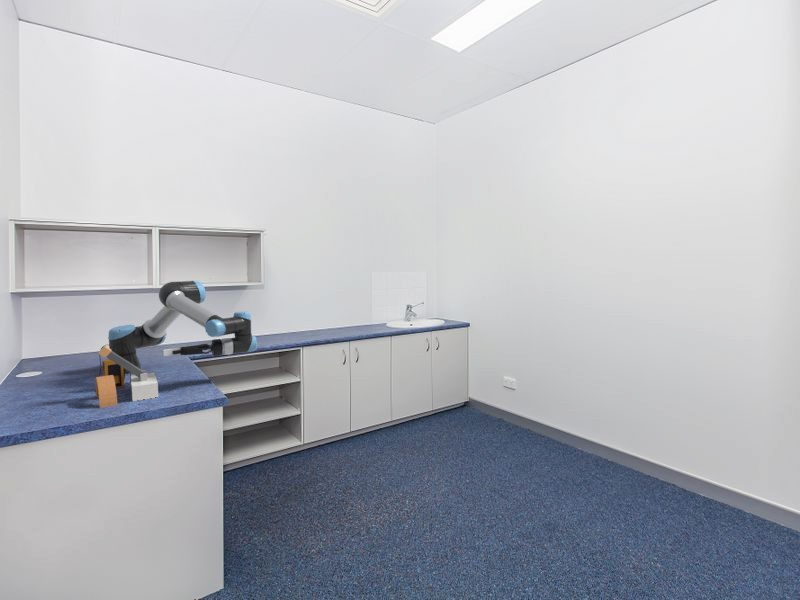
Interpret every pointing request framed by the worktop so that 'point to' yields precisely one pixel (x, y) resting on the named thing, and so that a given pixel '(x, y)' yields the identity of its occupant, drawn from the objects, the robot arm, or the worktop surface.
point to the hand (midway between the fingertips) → (163, 353)
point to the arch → (106, 391)
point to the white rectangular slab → (144, 386)
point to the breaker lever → (120, 361)
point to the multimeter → (114, 370)
